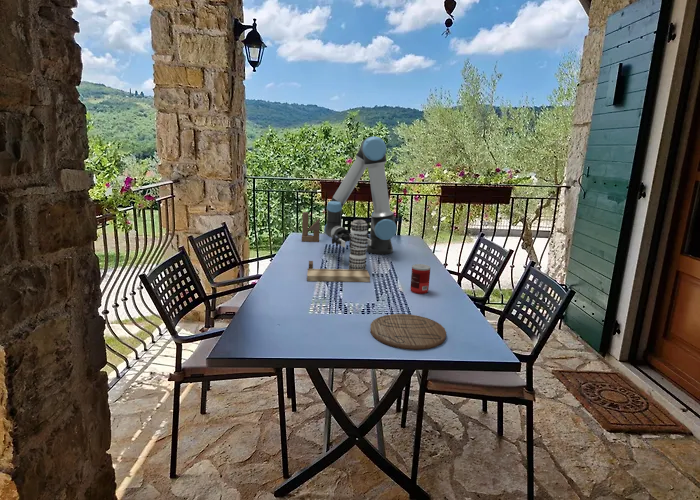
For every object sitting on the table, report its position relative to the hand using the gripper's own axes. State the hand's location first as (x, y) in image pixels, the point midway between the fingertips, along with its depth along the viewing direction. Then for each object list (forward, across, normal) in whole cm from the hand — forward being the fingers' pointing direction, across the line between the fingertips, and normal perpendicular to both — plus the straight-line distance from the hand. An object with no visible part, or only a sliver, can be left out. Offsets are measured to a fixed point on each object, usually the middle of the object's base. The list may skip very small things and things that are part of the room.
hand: (357, 243), depth 208 cm
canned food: (+34, -14, -14) cm, 39 cm away
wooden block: (-68, 0, -14) cm, 69 cm away
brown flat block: (-8, +20, -14) cm, 26 cm away
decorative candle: (-1, -1, -14) cm, 14 cm away
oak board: (+6, +12, -14) cm, 20 cm away
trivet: (+68, +13, -15) cm, 71 cm away
